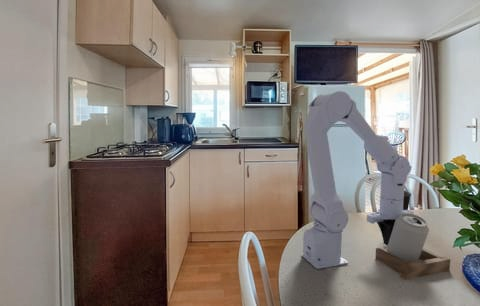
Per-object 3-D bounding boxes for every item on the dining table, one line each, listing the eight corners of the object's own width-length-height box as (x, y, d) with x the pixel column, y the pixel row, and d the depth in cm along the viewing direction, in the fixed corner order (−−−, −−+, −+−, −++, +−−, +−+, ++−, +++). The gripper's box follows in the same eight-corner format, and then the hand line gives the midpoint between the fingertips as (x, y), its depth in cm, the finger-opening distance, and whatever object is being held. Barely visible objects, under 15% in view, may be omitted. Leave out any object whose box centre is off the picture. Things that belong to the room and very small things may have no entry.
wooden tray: (405, 279, 66) (406, 267, 66) (372, 259, 76) (373, 248, 76) (449, 270, 70) (450, 259, 70) (412, 252, 80) (413, 242, 80)
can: (423, 268, 72) (437, 228, 68) (393, 265, 72) (406, 225, 68) (408, 249, 79) (420, 212, 75) (381, 246, 79) (392, 209, 75)
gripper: (400, 192, 84) (397, 236, 85) (359, 196, 80) (357, 242, 81) (421, 198, 77) (418, 245, 79) (379, 202, 73) (376, 252, 74)
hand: (388, 244), depth 79 cm, fingers closed, pressing on can
